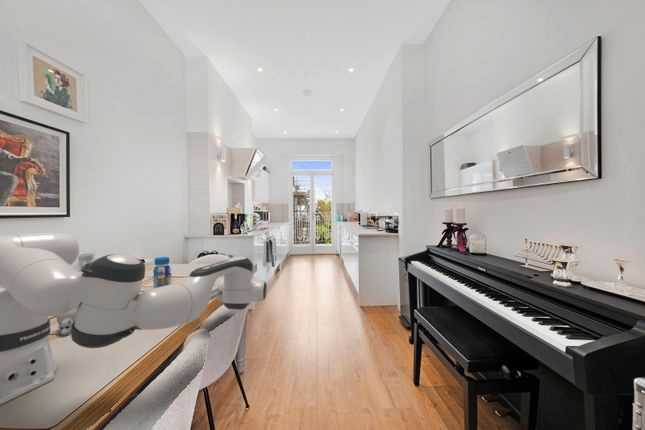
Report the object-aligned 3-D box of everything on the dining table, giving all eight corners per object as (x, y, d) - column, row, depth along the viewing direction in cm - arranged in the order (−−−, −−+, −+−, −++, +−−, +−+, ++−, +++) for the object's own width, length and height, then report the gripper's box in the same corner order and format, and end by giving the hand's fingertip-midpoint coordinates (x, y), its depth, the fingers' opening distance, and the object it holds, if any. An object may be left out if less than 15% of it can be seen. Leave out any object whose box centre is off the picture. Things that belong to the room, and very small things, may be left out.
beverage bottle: (149, 297, 143) (148, 259, 143) (163, 292, 151) (162, 256, 151) (162, 298, 141) (161, 259, 141) (175, 293, 149) (174, 256, 149)
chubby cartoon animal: (51, 344, 99) (46, 326, 95) (62, 321, 108) (58, 303, 105) (77, 340, 102) (73, 322, 99) (86, 317, 112) (82, 300, 109)
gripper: (213, 306, 98) (177, 305, 100) (237, 289, 119) (207, 288, 121) (213, 289, 98) (177, 287, 100) (237, 275, 119) (207, 274, 120)
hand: (194, 288), depth 110 cm, fingers closed
